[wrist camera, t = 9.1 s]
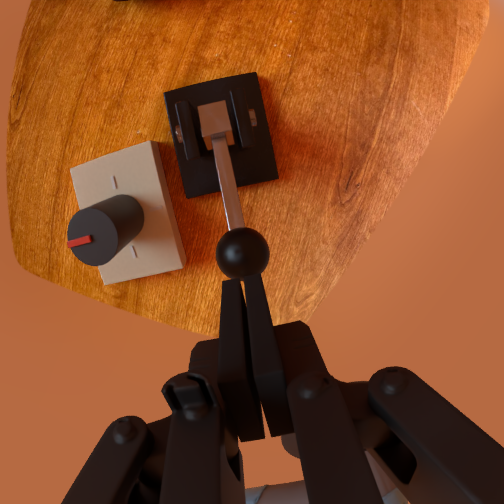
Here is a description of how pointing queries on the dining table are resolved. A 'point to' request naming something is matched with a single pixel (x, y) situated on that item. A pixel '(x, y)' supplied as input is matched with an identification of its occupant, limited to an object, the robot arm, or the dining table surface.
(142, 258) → the dial panel
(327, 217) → the dining table surface
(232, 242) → the ball knob lever
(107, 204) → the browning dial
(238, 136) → the lever bracket
